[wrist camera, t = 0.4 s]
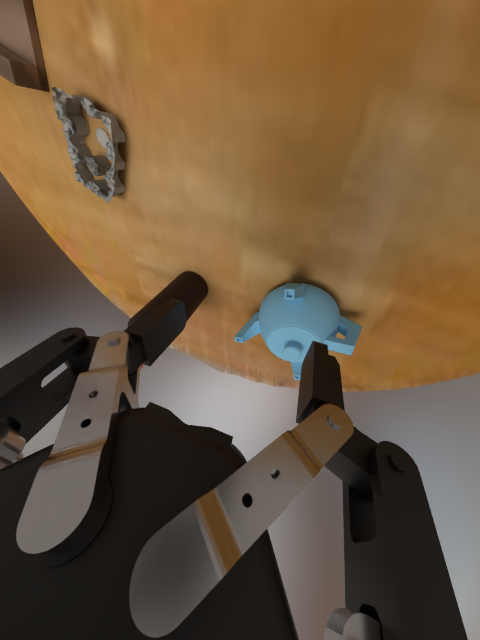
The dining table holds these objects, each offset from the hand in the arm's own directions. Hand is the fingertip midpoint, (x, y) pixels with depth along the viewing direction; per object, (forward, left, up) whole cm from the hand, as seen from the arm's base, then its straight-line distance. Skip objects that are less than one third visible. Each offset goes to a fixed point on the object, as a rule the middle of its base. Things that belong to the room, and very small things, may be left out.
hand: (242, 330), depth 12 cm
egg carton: (+6, -29, -23) cm, 37 cm away
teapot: (+12, +10, -23) cm, 27 cm away
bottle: (+20, -10, -23) cm, 31 cm away
